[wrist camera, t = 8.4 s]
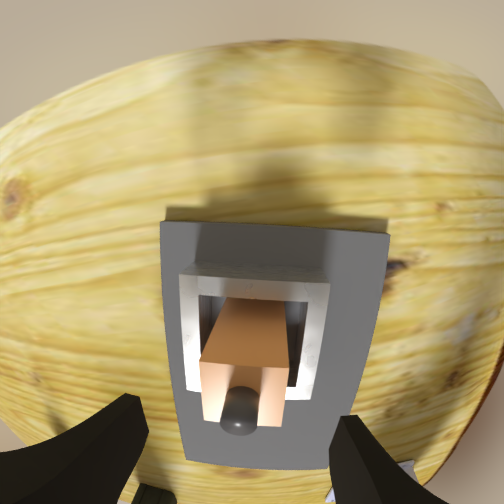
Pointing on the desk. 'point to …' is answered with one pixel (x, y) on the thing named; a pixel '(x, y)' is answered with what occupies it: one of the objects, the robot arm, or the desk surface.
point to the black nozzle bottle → (153, 496)
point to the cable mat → (333, 341)
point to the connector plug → (245, 366)
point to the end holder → (255, 287)
